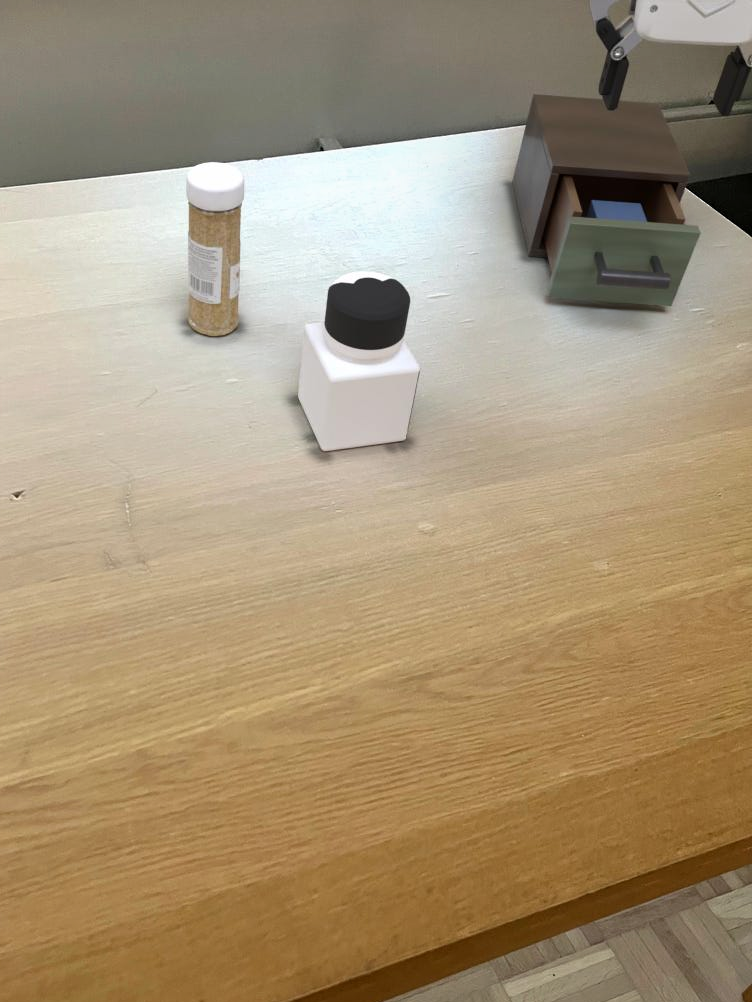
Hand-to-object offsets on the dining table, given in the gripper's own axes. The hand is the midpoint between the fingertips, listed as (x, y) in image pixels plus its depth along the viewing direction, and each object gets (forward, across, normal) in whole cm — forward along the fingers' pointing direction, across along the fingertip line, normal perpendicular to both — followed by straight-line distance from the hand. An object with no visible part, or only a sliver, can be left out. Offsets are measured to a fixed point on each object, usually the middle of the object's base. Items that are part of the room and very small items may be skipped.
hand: (664, 106), depth 91 cm
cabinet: (+15, -2, +8) cm, 17 cm away
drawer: (+14, -2, -3) cm, 15 cm away
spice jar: (+15, -38, -14) cm, 43 cm away
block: (+13, -2, -2) cm, 14 cm away
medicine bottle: (+15, -26, -26) cm, 40 cm away
